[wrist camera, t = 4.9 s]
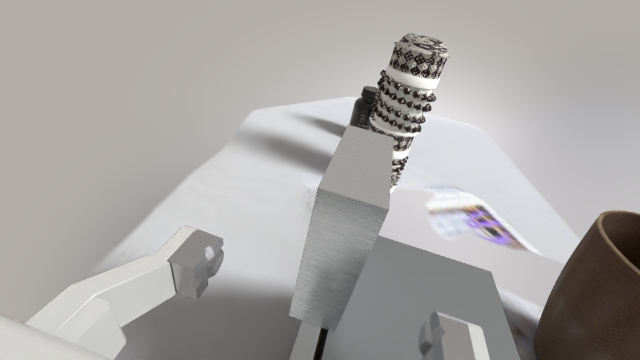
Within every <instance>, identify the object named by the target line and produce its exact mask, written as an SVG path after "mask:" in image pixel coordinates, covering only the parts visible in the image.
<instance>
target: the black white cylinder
mask: <svg viewBox="0 0 640 360" xmlns="http://www.w3.org/2000/svg"><path fill="white" fill-rule="evenodd" d="M448 57H449V58H450V56H449V55H447V49H446V44H445V43H444V42H442V41H440V40H436V39H433V38H430V37H425V36H421V35H416V34H407V35H405V36H404V37H403V38H402V39H401V40H400V41H399V42H395V47H394V51H393V54H392V57H391V61H390V63H389V64H388V66H387V69H386V71H384V70H382V72H381V73H380V74H381V76H382V78H381V79H380V81H378V83H377V84H378V85H379V89H380V90H379V91H377V92H376V94H375V96H374V97H375V99H376V100H375V101H374V103H373V104H372V107H373V112H372V113H371V115H370V118H369V119H370V122H371V124H370V127H369V131H372V132H376V133H379V134H383V135H386V136H390V137H394V144H393V159H392V173H391V187H390V193H392V192H393V191H394V188H395V186H396V185H397V183H396V182H398V179H400V176H399V175H401V172H400V170H403V169H404V166H405V164H404V163H406V162H407V159H408V156H407V154H408V152H409V150H410V144H411V142H412V140H413V137H414V136H416V135H418V133H419V132H420V131H421V126H420V125H418V124H420V123H424V122H425V117H424V116H423V112H428V111H431V106H430V105H429V104H427V102H433V101H435V100H436V97H435V96H434V94H433V93H432V90H433V89H435V88H436V86H437V84H438V82H439V79H440V77H439V76H440V73H441V71H442V69H443V67H444V64H445V62H446V60H447V58H448ZM383 83H384V84H383ZM379 97H380V98H379ZM376 105H377V106H376Z"/></svg>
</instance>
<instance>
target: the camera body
mask: <svg viewBox="0 0 640 360" xmlns="http://www.w3.org/2000/svg"><path fill="white" fill-rule="evenodd" d="M435 311H437V312H440V313H443V314H446V315H449V316H452V317H455V318H458V319H461V320H463V321H466V322H469V323H472V324H475V325H478V326H480V327H481V329H482V330H483V334H484V338H485V342H486V346H487V350H488V354H489V358H490V360H520V357H519V354H518V351H517V348H516V345H515V342H514V339H513V336H512V333H511V330H510V327H509V324H508V321H507V318H506V315H505V312H504V309H503V306H502V303H501V300H500V297H499V294H498V291H497V288H496V285H495V282H494V279H493V276H492V273H491V272H490V271H487V270H484V269H481V268H477V267H475V266H471V265H468V264H465V263H462V262H459V261H456V260H452V259H450V258H446V257H444V256H440V255H437V254H434V253H431V252H428V251H425V250H422V249H419V248H415V247H412V246H409V245H406V244H403V243H400V242H397V241H394V240H391V239H388V238H384V237H381V236H379V235H378V236H377V238H376V240H375V242H374V245H373V247H372V249H371V252H370V254H369V256H368V258H367V261H366V263H365V265H364V267H363V270H362V272H361V274H360V277H359V279H358V281H357V283H356V286H355V288H354V290H353V292H352V295H351V297H350V299H349V302H348V304H347V306H346V308H345V311H344V313H343V315H342V317H341V320H340V322H339V324H338V327H337V329H336V331H335V332H332V331H330V330H327V329H324V328H321V330H320V334H319V338H318V342H317V346H316V350H315V354H314V357H313V360H421V359H422V358H423V356H422V354H421V352H420V351H419V348H418V339H419V333H420V329H421V327H422V325H423V324H424V323H425V322H428V321H430V315H431V314H432V313H433V312H435Z"/></svg>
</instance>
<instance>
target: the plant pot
mask: <svg viewBox="0 0 640 360" xmlns="http://www.w3.org/2000/svg"><path fill="white" fill-rule="evenodd" d="M534 349H535V353H536V356H537V358H538V360H640V214H637V213H633V212H628V211H608V212H604V213H602V214H600V216H599V217H598V218H597V220H596V221H595V222H594V223H593V225H592V226H591V228H590V229H589V230H588V232H587V233H586V235H585V236H584V238H583V239H582V240H581V242H580V243H579V245H578V246H577V248H576V249H575V251H574V252H573V254H572V255H571V257H570V258H569V260H568V261H567V263H566V265H565V267H564V268H563V270H562V272H561V274H560V276H559V277H558V279H557V281H556V283H555V285H554V287H553V289H552V291H551V293H550V295H549V298H548V300H547V303H546V305H545V308H544V310H543V313H542V315H541V318H540V321H539V325H538V328H537V331H536V335H535V339H534Z"/></svg>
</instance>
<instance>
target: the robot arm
mask: <svg viewBox="0 0 640 360" xmlns="http://www.w3.org/2000/svg"><path fill="white" fill-rule="evenodd" d="M222 246H223V238H220V237H217V236H215V235H212V234H209V233H207V232H204V231H201V230H199V229H196V228H193V227H190V226H187V225H185V226H183V227H182V228H180V229H179V230H178V231H177V232H176V233H175V234H174V235H173V236H172V237H171V238H170V239H169V240H168V241H167V242H166V243H165V244H164V245H163V246H162V247H161V248H160V249H159V250H158V251H157V252H156V253H155V254H154V255H153V256H151V255H147V256H144V257H142V258H139V259H137V260H134V261H132V262H129V263H126V264H124V265H121V266H119V267H116V268H114V269H111V270H108V271H106V272H103V273H101V274H98V275H96V276H93V277H90V278H88V279H85V280H83V281H80V282H78V283H75V284H72V285H70V286H69V287H68V288H67V289H65V290H64V291H63V292H62V293H61V294H59V295H58V296H57V297H56V298H55V299H53V300H52V301H51V302H50V303H49V304H47V305H46V306H45V307H44V308H43V309H41V310H40V311H39V312H38V313H37V314H35V315H34V316H33V317H32V318H31V319H29V320H28V321H27V322H26V323H23V322H20V321H18V320H15V319H13V318H10V317H8V316H6V315H3V314H1V313H0V360H113V359H114V358H115V357H116V356H117V354H118V353H119V352H120V351H121V349H122V348H123V347H124V346H125V344H126V337H125V335H124V333H123V331H122V329H121V327H123V326H124V325H126V324H128V323H129V322H131V321H133V320H134V319H136V318H138V317H139V316H141V315H143V314H144V313H146V312H148V311H149V310H151V309H153V308H154V307H156V306H158V305H159V304H161V303H163V302H164V301H166V300H168V299H169V298H171V297H173V296H174V295H176V293H177V294H180V295H183V296H186V297H189V298H192V299H195V300H198V298H199V297H200V296H201V294H202V293H203V291H204V290H205V289H206V287H207V286H208V278H210V277H212V276H214V275H215V274H216V273H217V271H218V270H219V268H220V266H221V264H222V261H223V257H224V252H223V251H222V249H221V247H222ZM418 348H419V351H420V352H421V354H422V356H423V358H422V359H421V360H490V358H489V354H488V350H487V346H486V342H485V338H484V334H483V330H482V329H481V327H480V326H478V325H475V324H472V323H469V322H466V321H463V320H461V319H458V318H455V317H452V316H449V315H446V314H443V313H440V312H437V311H435V312H433V313H432V314H431V315H430V321H428V322H425V323H424V324H423V325H422V327H421V329H420V333H419V339H418Z"/></svg>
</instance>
